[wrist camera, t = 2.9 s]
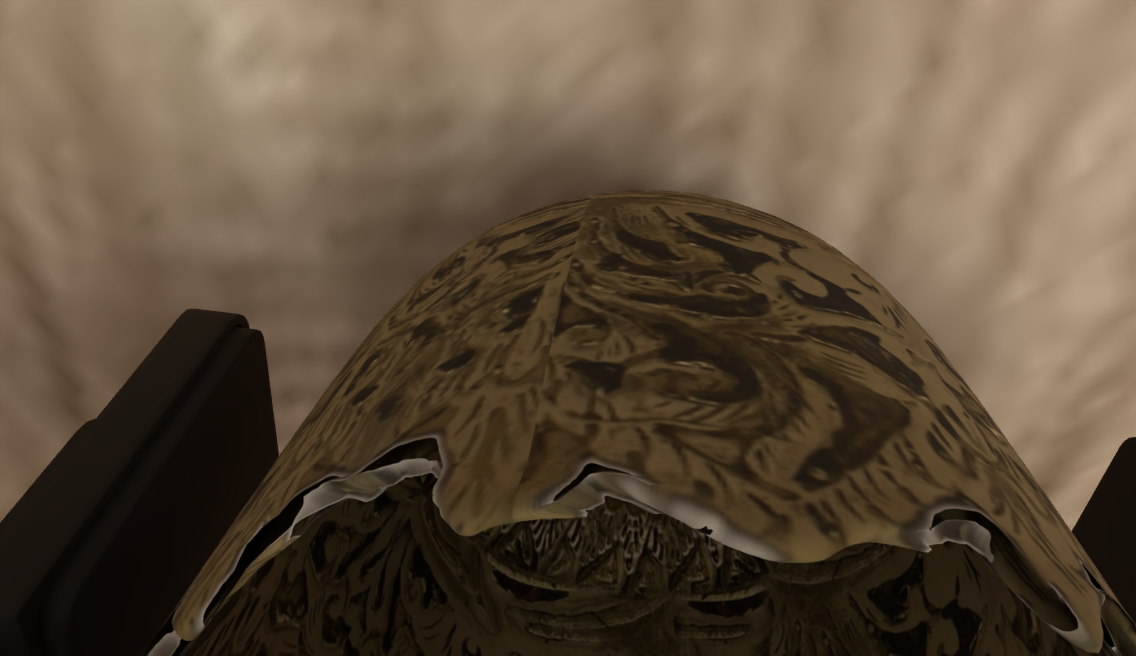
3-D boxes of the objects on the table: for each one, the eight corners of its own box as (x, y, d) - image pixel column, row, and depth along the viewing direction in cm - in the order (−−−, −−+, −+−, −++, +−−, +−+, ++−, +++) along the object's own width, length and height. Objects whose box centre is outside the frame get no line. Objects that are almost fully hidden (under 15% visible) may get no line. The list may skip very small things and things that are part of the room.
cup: (841, -84, 10) (1237, 348, 3) (973, 412, 13) (1288, 1097, 7) (277, 162, 12) (-189, 723, 5) (521, 531, 15) (426, 1138, 9)
